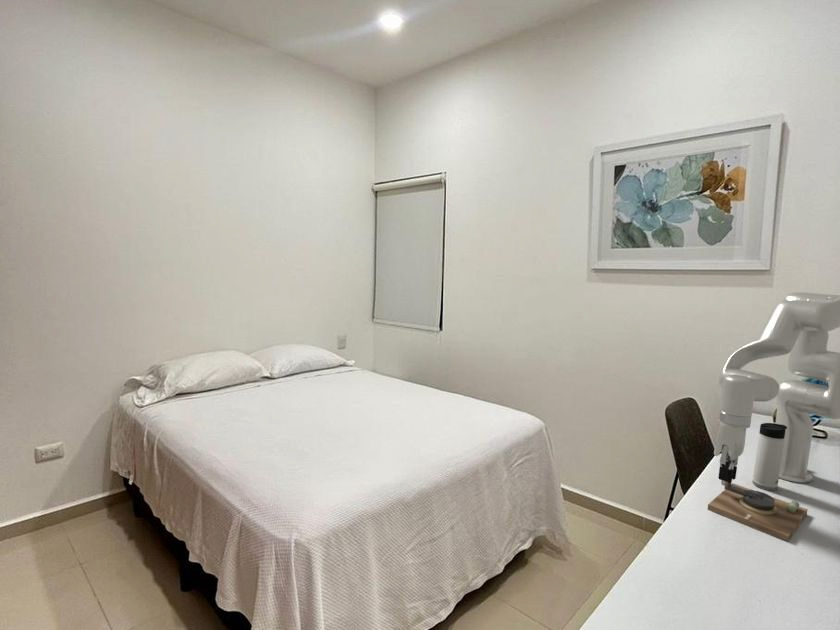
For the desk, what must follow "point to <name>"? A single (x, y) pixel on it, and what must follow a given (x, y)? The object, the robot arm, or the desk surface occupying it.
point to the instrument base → (760, 514)
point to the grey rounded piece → (752, 496)
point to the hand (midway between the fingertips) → (726, 478)
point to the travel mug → (769, 456)
